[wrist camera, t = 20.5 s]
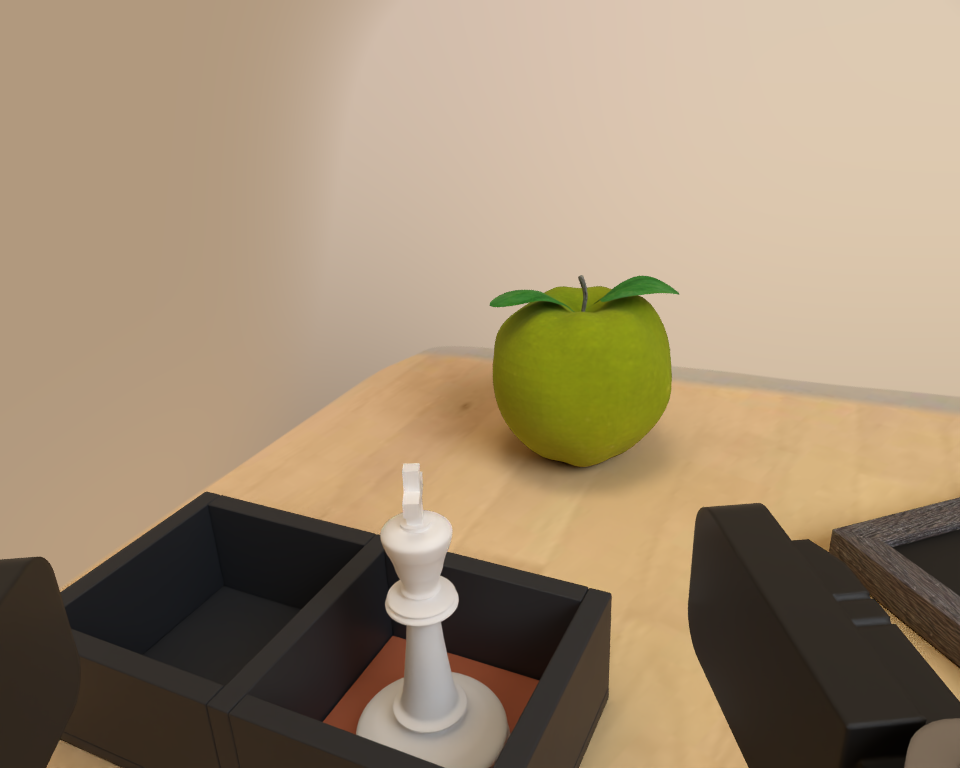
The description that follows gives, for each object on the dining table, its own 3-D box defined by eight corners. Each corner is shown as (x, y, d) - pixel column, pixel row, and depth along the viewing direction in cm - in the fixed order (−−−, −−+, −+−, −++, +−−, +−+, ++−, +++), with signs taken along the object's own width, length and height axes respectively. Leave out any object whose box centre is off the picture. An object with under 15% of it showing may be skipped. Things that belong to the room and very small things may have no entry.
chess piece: (507, 681, 28) (498, 423, 24) (514, 807, 24) (506, 513, 20) (365, 687, 28) (333, 429, 24) (345, 813, 24) (302, 522, 20)
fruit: (677, 498, 40) (690, 303, 36) (487, 494, 41) (480, 304, 37) (659, 416, 48) (669, 250, 44) (502, 414, 49) (498, 252, 45)
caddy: (43, 732, 28) (7, 627, 26) (223, 580, 35) (206, 490, 33) (505, 942, 21) (500, 818, 19) (608, 697, 28) (612, 592, 26)
